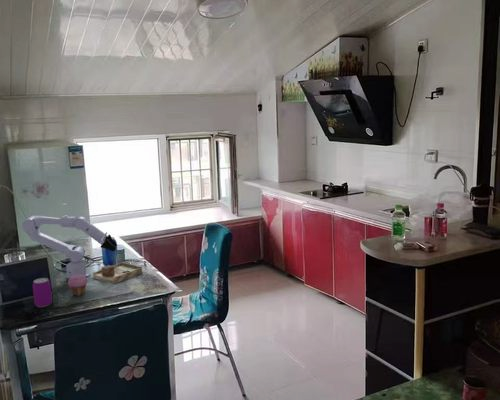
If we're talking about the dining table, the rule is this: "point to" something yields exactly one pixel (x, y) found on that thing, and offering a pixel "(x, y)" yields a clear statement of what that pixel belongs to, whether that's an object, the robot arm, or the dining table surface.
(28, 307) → the dining table surface
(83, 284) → the cupcake
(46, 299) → the beverage can
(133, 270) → the divided beige tray
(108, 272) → the walnut block
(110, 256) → the beer can
